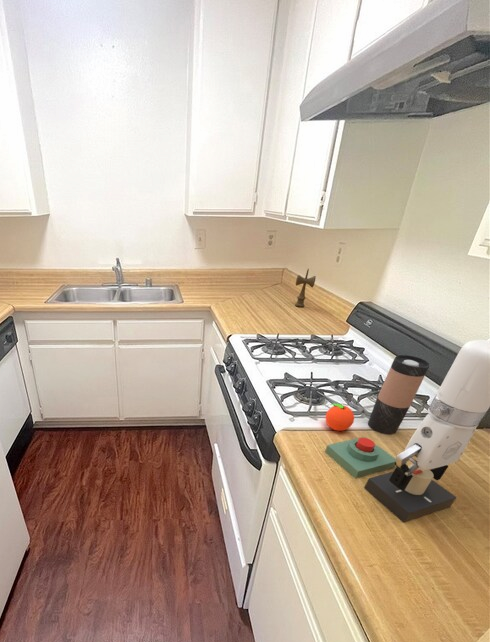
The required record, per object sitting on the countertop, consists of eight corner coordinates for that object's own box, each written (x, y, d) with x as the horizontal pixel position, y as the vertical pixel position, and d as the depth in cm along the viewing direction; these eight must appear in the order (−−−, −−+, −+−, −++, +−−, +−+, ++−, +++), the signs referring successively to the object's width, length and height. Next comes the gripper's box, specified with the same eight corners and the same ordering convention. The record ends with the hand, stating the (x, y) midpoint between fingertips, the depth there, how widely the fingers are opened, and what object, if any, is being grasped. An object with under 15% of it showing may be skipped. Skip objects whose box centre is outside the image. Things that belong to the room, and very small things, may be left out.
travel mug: (403, 434, 93) (438, 366, 82) (378, 436, 92) (410, 368, 81) (384, 418, 100) (414, 354, 89) (360, 420, 98) (387, 355, 87)
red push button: (364, 442, 84) (366, 436, 83) (376, 451, 81) (378, 445, 80) (352, 444, 83) (354, 439, 82) (364, 454, 80) (366, 448, 79)
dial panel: (407, 475, 80) (413, 465, 78) (449, 507, 72) (457, 496, 70) (363, 488, 76) (368, 477, 74) (403, 523, 68) (410, 512, 66)
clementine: (313, 424, 96) (320, 402, 92) (327, 416, 100) (335, 395, 96) (340, 438, 91) (349, 416, 87) (354, 430, 94) (363, 408, 90)
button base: (362, 443, 90) (367, 430, 87) (394, 467, 82) (401, 454, 80) (324, 451, 86) (329, 439, 84) (355, 478, 78) (361, 465, 76)
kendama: (308, 308, 193) (318, 270, 181) (290, 306, 195) (298, 268, 184) (308, 305, 197) (317, 268, 186) (290, 303, 200) (299, 266, 189)
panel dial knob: (410, 478, 74) (419, 461, 72) (429, 492, 71) (439, 475, 68) (394, 482, 73) (404, 465, 71) (413, 497, 70) (423, 479, 67)
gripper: (441, 430, 56) (398, 503, 66) (510, 414, 61) (461, 484, 71) (401, 406, 62) (367, 477, 71) (467, 394, 67) (427, 461, 77)
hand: (414, 480), depth 71 cm, fingers open, 9 cm apart
